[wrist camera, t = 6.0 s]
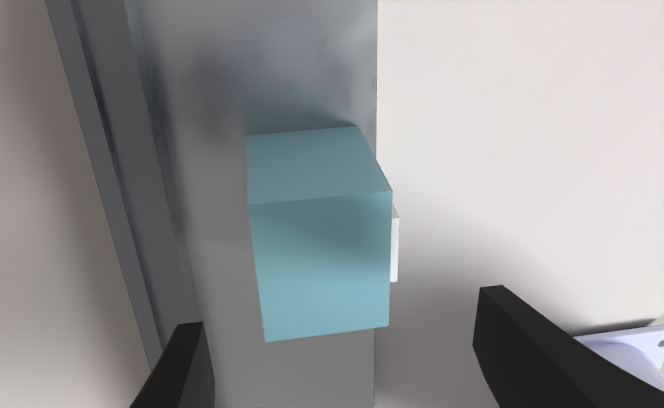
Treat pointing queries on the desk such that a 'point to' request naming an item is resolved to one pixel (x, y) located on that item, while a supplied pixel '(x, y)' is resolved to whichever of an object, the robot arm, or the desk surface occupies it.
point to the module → (320, 232)
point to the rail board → (216, 166)
